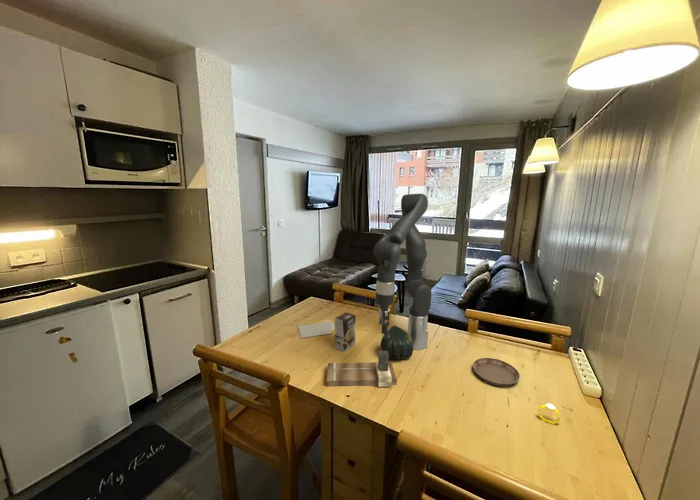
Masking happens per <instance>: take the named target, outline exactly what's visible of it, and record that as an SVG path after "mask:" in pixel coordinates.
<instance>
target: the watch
mask: <svg viewBox="0 0 700 500" xmlns="http://www.w3.org/2000/svg"><path fill="white" fill-rule="evenodd" d="M542 409H547V410H549V411H551V412H555V413H556V415H557V419H554V420H552V419H549V418H545V417H544V416H543V414H541V410H542ZM537 412H538V413H537V414H538V416H539V418H540V419H541V420H542V421H543V422H547V423H549V424H551V425H554V424H558V423H559V422H560V420H561V414H560V411H559V410H558V409H557V408H556V406H555V405H553V404H552V403H546V404H541V405H540V406H539V407H538V411H537Z"/></svg>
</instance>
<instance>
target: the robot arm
mask: <svg viewBox="0 0 700 500" xmlns="http://www.w3.org/2000/svg"><path fill="white" fill-rule="evenodd" d="M428 204H429V201H428V197H427V195H426V194H424V193H412V194H411V193H409V194H404V195H403V196H402V197H401V201H400V208H401V215H402V217H400V218H399V219H398V220H397V221H395V223H394V224H392V226H391V228H390V229H389V231H388V233H386V234H385V235H384V236H382V237H381V238H380V239H379V240H378V241H377V243H375V245H374V247H373V255H374V257H375V258H376V259H379V260H384V261H388V263H387V264H381V265H379V266H378V267H377V272H376V273H377V274H376V276H377V277H376V284H375V299H374V300H375V303H376V304H378V315H379V321H378V323H379V325H381V334H382V335H384V334H387V331H388V327H389V326H390V313H391V309H390V306H391V305H393V304H394V302H395V294H396V293H395V288H396V285H395V281H396V280H395V279H396V269H397V267H398V266H397V265H398V263H399V260H400V259H401V258H400V257H401V255H402V248H401V246H400V245H402V244H403V243H405V253H406V255H405V256H406V263H407V264H406V266H407V288H406V289H407V293H408V295H409V296H410V297H411V298H412V304H411V305H410V306H409V308H408V321H407V322H408V324H407V325H408V326H407V333H408V334H409V335H410V336H411V338H412V340H413V350H417V351H418V350H419V351H421V350H424V349H428V342H429V329H428V319H429V311H430V309H431V305H432V303H431V302H432V297H433V295H432V289H431V287H430V286H429V285H428V284H426V283H425V282H424V279H423V267H424V264H425V262H426V261H425V260H426V258H427V248H426V247H427V246H426V241H425V238H424V236H423V235H422V234H421V232H420V231H419V229H418V228H417V226H416V223H417V222H418V221H419V220H420V219H421V217H423V216H424V215H425V213H426V211H427V209H428Z"/></svg>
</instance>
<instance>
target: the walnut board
mask: <svg viewBox="0 0 700 500" xmlns="http://www.w3.org/2000/svg"><path fill="white" fill-rule="evenodd" d="M376 363H379V361H376V362H375V361H374V362H371V361H369V362H328V363H327V369H326V370H327V371H326V387H365V386H366V387H368V386H370V387H371V386H378V375H377V370H376ZM388 366H389V369H390V373H391V376H392V381H391V386H397V385H398V384H397V383H398V378H397V375H396V372H395V368H394V365H393V362H391V361H389V362H388Z"/></svg>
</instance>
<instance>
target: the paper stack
mask: <svg viewBox="0 0 700 500" xmlns="http://www.w3.org/2000/svg"><path fill="white" fill-rule="evenodd" d="M297 328H298V332H299V335H300V337H301V339H302V338H304V339H305V338H309V337H311V338H312V337H317V336H323V335H330V334H333V332H332V331H333V330H334V331H335V322H334V321H333V320H332V321H331V322H330V320H329V321H327V322H324V321H323V323H322V322H321V323H318V324H313V323H310V324H305V325H303V324H302V325H298V326H297Z"/></svg>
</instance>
